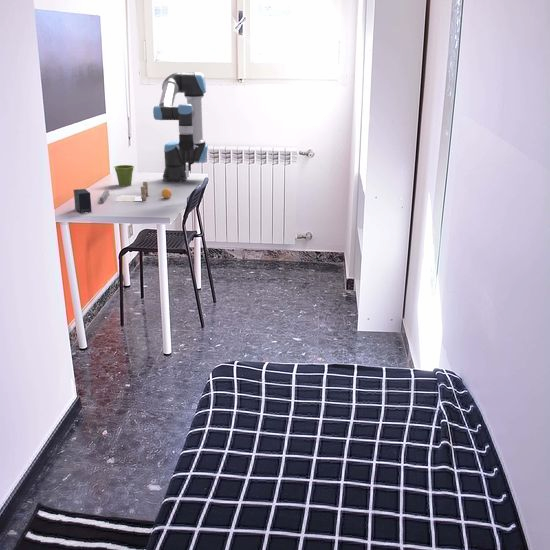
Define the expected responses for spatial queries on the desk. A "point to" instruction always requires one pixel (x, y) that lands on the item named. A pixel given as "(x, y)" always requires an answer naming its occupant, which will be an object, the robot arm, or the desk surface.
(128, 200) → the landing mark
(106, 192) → the stopper wall
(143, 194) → the post
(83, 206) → the small box
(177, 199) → the desk surface
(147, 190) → the post
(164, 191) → the ball
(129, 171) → the plant pot
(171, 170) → the robot arm
